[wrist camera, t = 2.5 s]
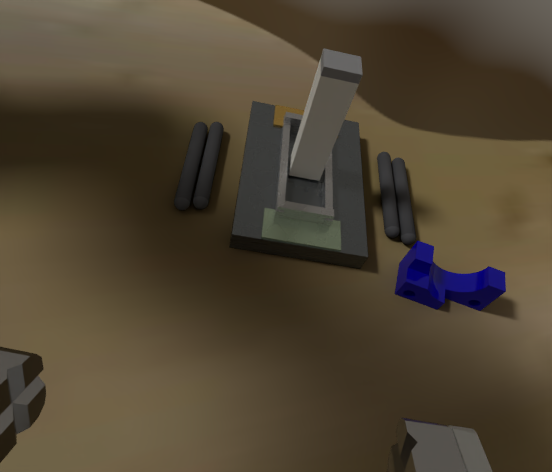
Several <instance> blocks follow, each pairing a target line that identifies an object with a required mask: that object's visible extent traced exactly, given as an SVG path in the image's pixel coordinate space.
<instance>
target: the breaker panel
mask: <svg viewBox="0 0 552 472" xmlns="http://www.w3.org/2000/svg"><path fill="white" fill-rule="evenodd" d="M303 114H304V110H299V109H294V108H289V107H284V106H279V105H275V106H274V105H270V104H265V103H260V102H255V101H253V102H252V108H251V113H250V119H249V125H248V132H247V138H246V145H245V151H244V157H243V164H242V170H241V176H240V183H239V189H238V196H237V202H236V208H235V215H234V221H233V227H232V234H231V240H230V246H229V247H231V248H237V249H243V250H249V251H255V252H261V253H267V254H273V255H280V256H286V257H292V258H298V259H304V260H310V261H316V262H322V263H328V264H334V265H341V266H347V267H353V268H359V269H360V268H361V267H362V265H363V264H364V262H365V261H366V259H367V258H368V249H367V235H366V221H365V207H364V193H363V179H362V164H361V150H360V136H359V123H357V122H352V121H348V120H344V122H343V124H342V127H341V129H340V132H339V134H338V136H337V139H336V141H335V144H334V146H333V149H332V151H331V154H330V156H329V159H328V161H327V164H326V166H325V169H324V171H323V173H322V176H321V178H320V181H317V180H312V179H306V178H301V177H296V176H290V175H289V169H290V157H291V154H292V150H293V147H294V144H295V140H296V137H297V134H298V131H299V127H300V124H301V121H302V118H303Z"/></svg>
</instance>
